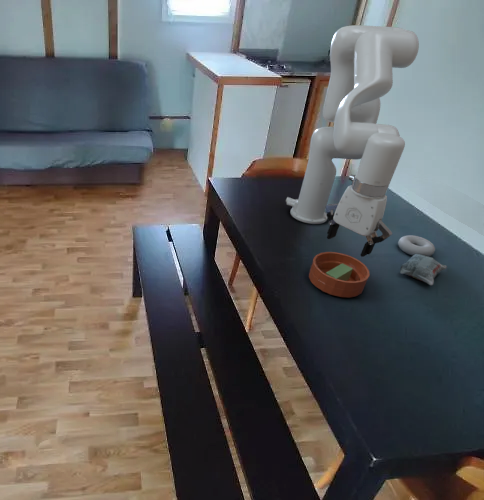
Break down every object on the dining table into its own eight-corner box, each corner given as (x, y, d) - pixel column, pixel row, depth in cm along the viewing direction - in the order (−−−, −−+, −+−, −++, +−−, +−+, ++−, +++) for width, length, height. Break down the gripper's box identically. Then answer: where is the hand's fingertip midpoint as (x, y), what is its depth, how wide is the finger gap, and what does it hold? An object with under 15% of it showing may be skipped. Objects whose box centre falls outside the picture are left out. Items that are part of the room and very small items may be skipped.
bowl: (300, 284, 112) (305, 267, 109) (318, 261, 121) (323, 246, 118) (354, 306, 104) (361, 289, 101) (368, 281, 114) (375, 265, 111)
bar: (332, 289, 109) (336, 278, 107) (322, 283, 111) (325, 272, 109) (349, 279, 113) (353, 268, 111) (338, 273, 115) (342, 263, 113)
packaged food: (443, 274, 118) (450, 260, 115) (428, 290, 111) (436, 276, 108) (410, 261, 123) (417, 247, 120) (395, 276, 116) (401, 262, 114)
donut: (402, 257, 125) (437, 261, 123) (406, 247, 123) (442, 251, 121) (392, 240, 133) (425, 244, 131) (396, 231, 131) (429, 235, 130)
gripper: (328, 177, 101) (310, 235, 111) (397, 205, 90) (371, 267, 99) (345, 170, 105) (326, 227, 114) (414, 196, 93) (386, 257, 103)
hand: (347, 245), depth 107 cm, fingers open, 9 cm apart
